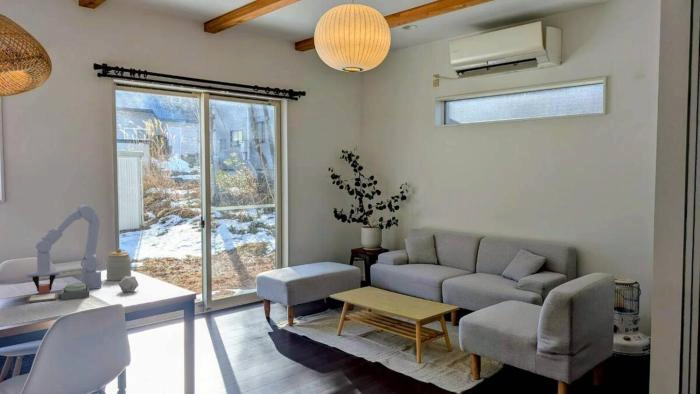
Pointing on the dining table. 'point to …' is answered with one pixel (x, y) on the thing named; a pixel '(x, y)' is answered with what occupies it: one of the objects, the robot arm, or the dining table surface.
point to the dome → (75, 287)
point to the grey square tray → (74, 294)
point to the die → (128, 284)
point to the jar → (118, 265)
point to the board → (42, 297)
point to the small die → (44, 288)
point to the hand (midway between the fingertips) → (44, 290)
